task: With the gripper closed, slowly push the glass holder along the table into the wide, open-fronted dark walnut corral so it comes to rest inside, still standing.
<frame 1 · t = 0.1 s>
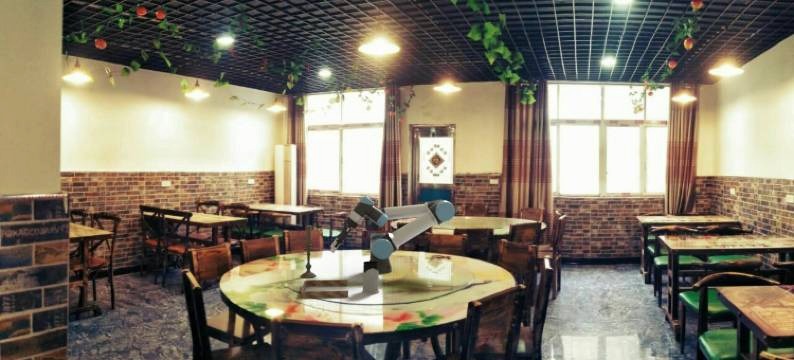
hand: (331, 249, 280), 15 cm above the table, tool tilted 35°, fingers open, 13 cm apart
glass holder: (369, 291, 249), on the table
corral: (325, 291, 246), on the table
candlestick holder: (308, 276, 280), on the table
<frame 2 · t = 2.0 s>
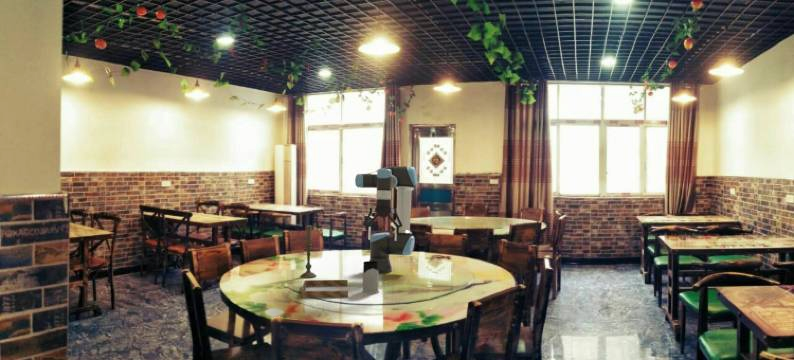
hand: (382, 240, 251), 26 cm above the table, tool pointing down, fingers open, 13 cm apart
nothing on the table moved.
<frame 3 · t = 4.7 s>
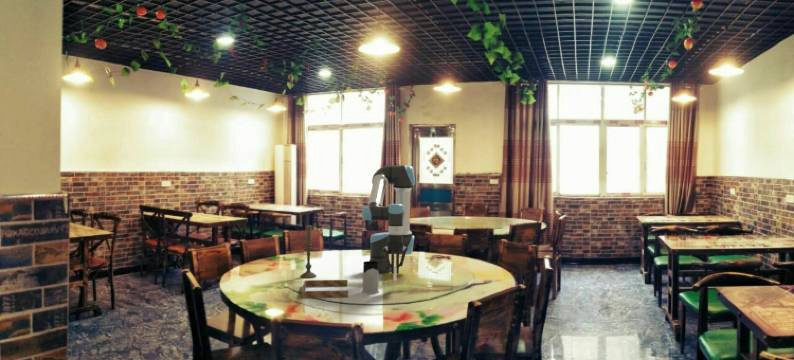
hand: (394, 279, 250), 5 cm above the table, tool pointing down, fingers closed
nothing on the table moved.
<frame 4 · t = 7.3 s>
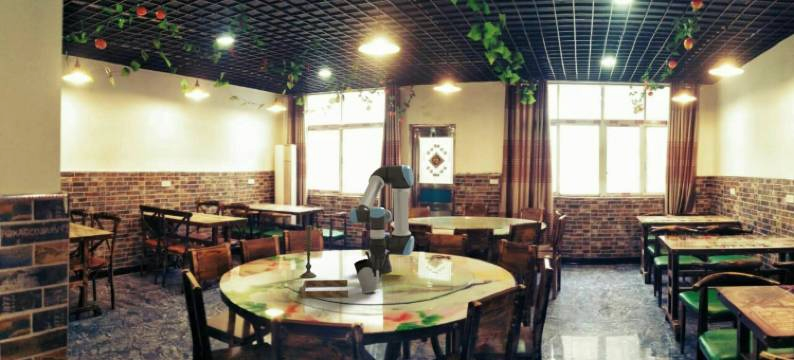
hand: (377, 283, 249), 4 cm above the table, tool pointing down, fingers closed
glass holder: (369, 288, 248), point 1 cm above the table, touching gripper, hand
everything else where it was.
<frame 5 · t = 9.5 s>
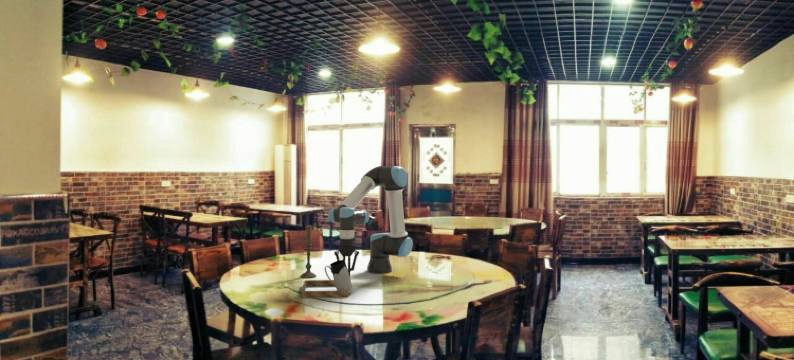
hand: (346, 284, 247), 3 cm above the table, tool pointing down, fingers closed
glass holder: (341, 291, 244), point 1 cm above the table, touching gripper
everything else where it was.
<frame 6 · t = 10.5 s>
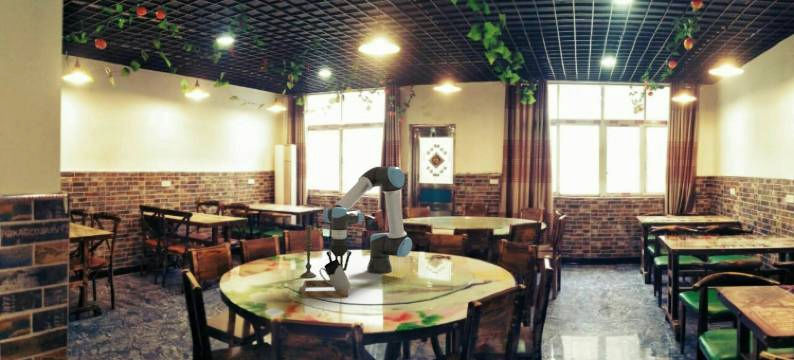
hand: (338, 284, 247), 3 cm above the table, tool pointing down, fingers closed
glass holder: (340, 291, 243), point 1 cm above the table
everything else where it was.
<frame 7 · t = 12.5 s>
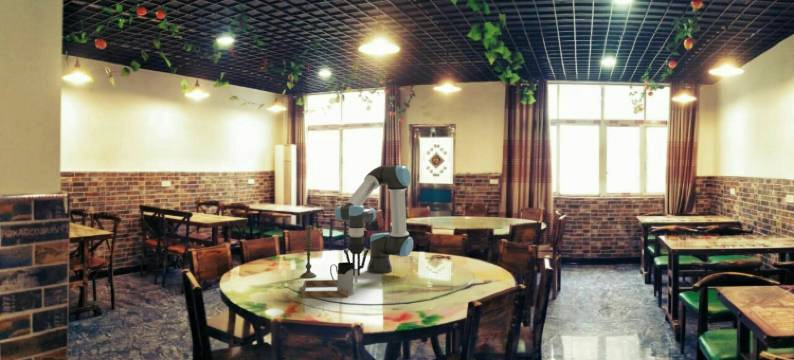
hand: (356, 282, 248), 4 cm above the table, tool pointing down, fingers closed
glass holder: (340, 293, 243), on the table
everything else where it was.
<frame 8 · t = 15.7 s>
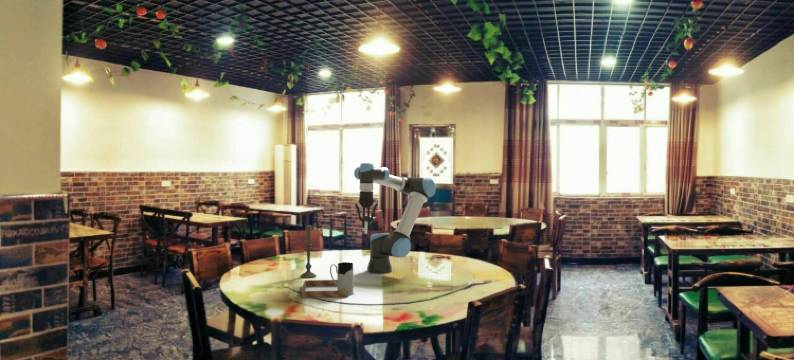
hand: (365, 233, 270), 26 cm above the table, tool pointing down, fingers closed
nothing on the table moved.
at the end: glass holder inside the target area on the corral (6.6 cm from its centre), point 0.0 cm above the corral's base; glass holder tilted 0° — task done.
